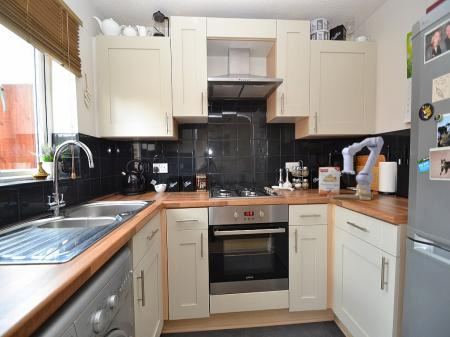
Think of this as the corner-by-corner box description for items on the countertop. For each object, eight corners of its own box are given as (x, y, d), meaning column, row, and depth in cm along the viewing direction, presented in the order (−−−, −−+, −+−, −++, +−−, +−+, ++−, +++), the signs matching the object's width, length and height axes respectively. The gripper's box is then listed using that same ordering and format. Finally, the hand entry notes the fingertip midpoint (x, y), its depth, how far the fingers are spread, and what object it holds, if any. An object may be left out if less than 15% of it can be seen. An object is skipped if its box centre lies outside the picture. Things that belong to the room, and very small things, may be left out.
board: (327, 196, 157) (327, 194, 157) (362, 196, 155) (362, 194, 155) (333, 199, 145) (333, 197, 145) (371, 199, 143) (372, 197, 143)
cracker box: (320, 194, 168) (320, 167, 168) (318, 193, 174) (318, 167, 173) (339, 194, 165) (340, 167, 164) (337, 193, 171) (338, 167, 170)
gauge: (353, 197, 151) (353, 185, 150) (363, 197, 150) (363, 185, 150) (360, 199, 141) (361, 186, 141) (370, 199, 141) (370, 186, 140)
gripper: (338, 164, 162) (338, 182, 162) (347, 164, 147) (347, 184, 148) (348, 164, 161) (348, 182, 161) (358, 164, 146) (358, 184, 147)
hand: (348, 183), depth 154 cm, fingers open, 7 cm apart
